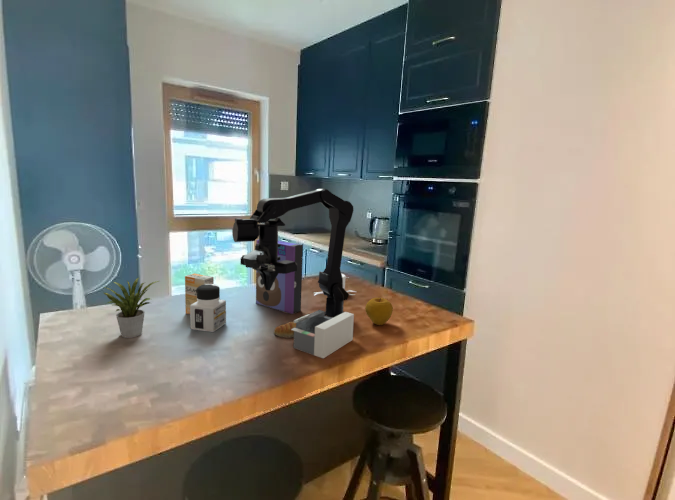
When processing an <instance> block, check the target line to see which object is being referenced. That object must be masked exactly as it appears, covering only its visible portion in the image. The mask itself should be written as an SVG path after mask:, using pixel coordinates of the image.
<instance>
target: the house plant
mask: <svg viewBox="0 0 675 500" xmlns="http://www.w3.org/2000/svg"><path fill="white" fill-rule="evenodd" d="M139 278H140V277H137V278H136V279H135V280H134V281H133V283H132V286H131V284H130V282H129V281H128V280H126V282H127V284H128V286H127V287H128V290H127V289H126V287H125V286H124V285H123V284H121V283H119V282H117V281H112V283H114V284H116V286H117V287H118V288H120V289H121V293H122V294H123V296H122V295H121V294H120V293H118V292H116V291H115V290H114V289H111V288H109V287H106V286H104V287H103V289H104V288H105V289H107V290H110V291H111V293H113V294H115V296H114V295H112V294H110V293H107V292H103V294H104V295H105V296H106V297H107V298H108V299H109V300H110V301H108V302H106V303H105V305H107V304H110V303H112V306H114V307H115V306H116V307H118V308H117V309H116V310H115V311H114V312H118V311H120V312H118V313H116V315H115V316H116V319H117V324H118V328H119V332H120V335H121V337H122V338H125V339H128V338H130V339H131V338H136V337H138V336H141V335H142V334H143V328H144V320H145V314H146V313H145V310H143V309H140V308H141V307H143V306H145V305H148V304H151V302H149V300H151V298H150V297H146V298H144V299H142V300H141V298H142V297H143V296H144V295H145V293H146V292H147V291H148V290H149V288H150V286H152V285H153V284H155V283H159V282H160V280H158V281H157V280H156V281H153V282H150V283H149V284H148V285H146V286H144V288H143V285H144V284H145V282H142V283H140V284H139V286H138V288H137V285H138V283H139ZM136 288H137V289H136ZM142 288H143V289H142ZM116 297H117V298H116ZM118 298H119V299H118Z"/></svg>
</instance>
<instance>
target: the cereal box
mask: <svg viewBox="0 0 675 500" xmlns="http://www.w3.org/2000/svg"><path fill="white" fill-rule="evenodd" d="M255 241H256V242H255V245H256V244H259V239H256V240H255ZM278 243H279V244H281V247H278V257H280V260H279V261H277V262H280V261H285V260H289V261H294V262H296V264H297V271H294V272H290V273H287V274H282V273H279V274H278V275H277V277H276V279H275V281H274V283H273V285H272V287H271V289H270V290H268V291H267V290H266V289H265V286H264V283H263V281H262V278H261V275H260V273H259V272H257V271H256V270H255V271H256V272H255V304H256V305H259V306H263V307H265V308H270V309H273V310H276V311H280V312H283V313H286V314H289V315H294V314H296V313H300V312H301V311H302V286H303V285H302V284H303V282H302V281H303V279H302V278H303V249H304V245H303V244H301V243H300V244H299V243H293V242H288V241H282V240H278ZM270 264H272V263H270Z"/></svg>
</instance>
